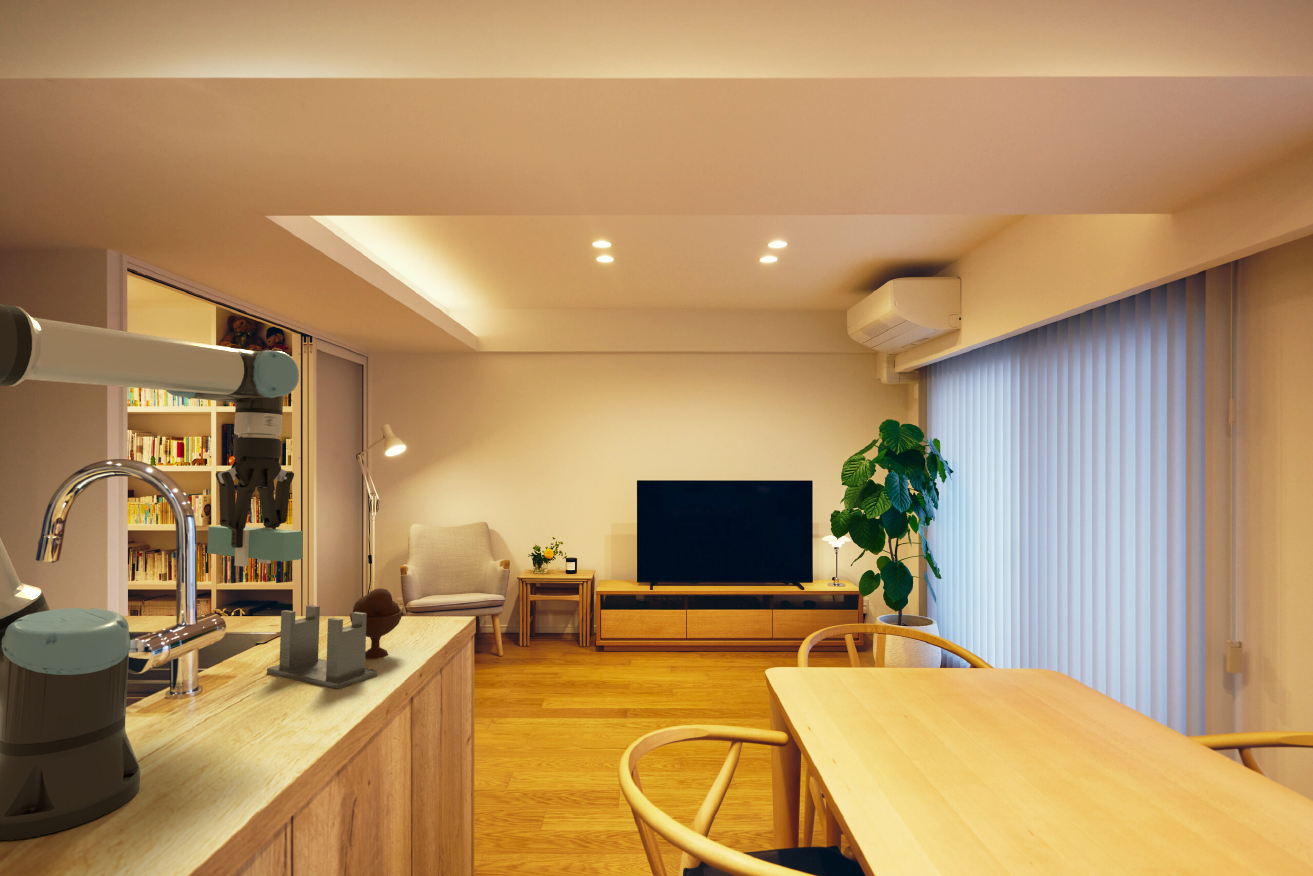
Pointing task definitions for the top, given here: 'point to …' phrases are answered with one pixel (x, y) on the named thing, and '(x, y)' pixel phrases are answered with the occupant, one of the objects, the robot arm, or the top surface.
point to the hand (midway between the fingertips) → (252, 564)
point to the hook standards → (341, 650)
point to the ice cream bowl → (378, 618)
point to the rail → (258, 543)
